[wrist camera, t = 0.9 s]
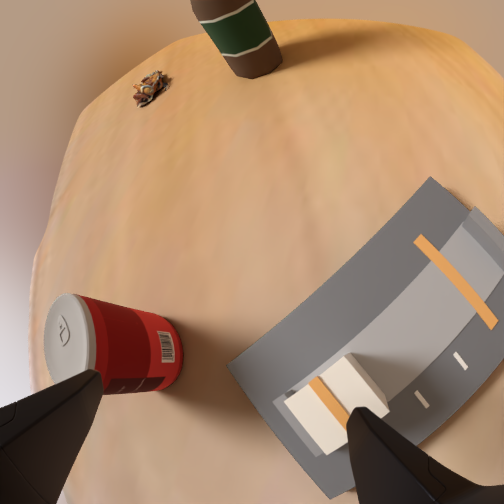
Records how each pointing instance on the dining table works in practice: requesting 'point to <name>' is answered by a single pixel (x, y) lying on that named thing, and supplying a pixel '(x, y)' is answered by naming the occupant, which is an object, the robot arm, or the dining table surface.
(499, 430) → the dining table surface
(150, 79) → the pastry
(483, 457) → the dining table surface
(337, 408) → the fader tab
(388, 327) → the console plate
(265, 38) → the beer bottle
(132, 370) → the canned food
